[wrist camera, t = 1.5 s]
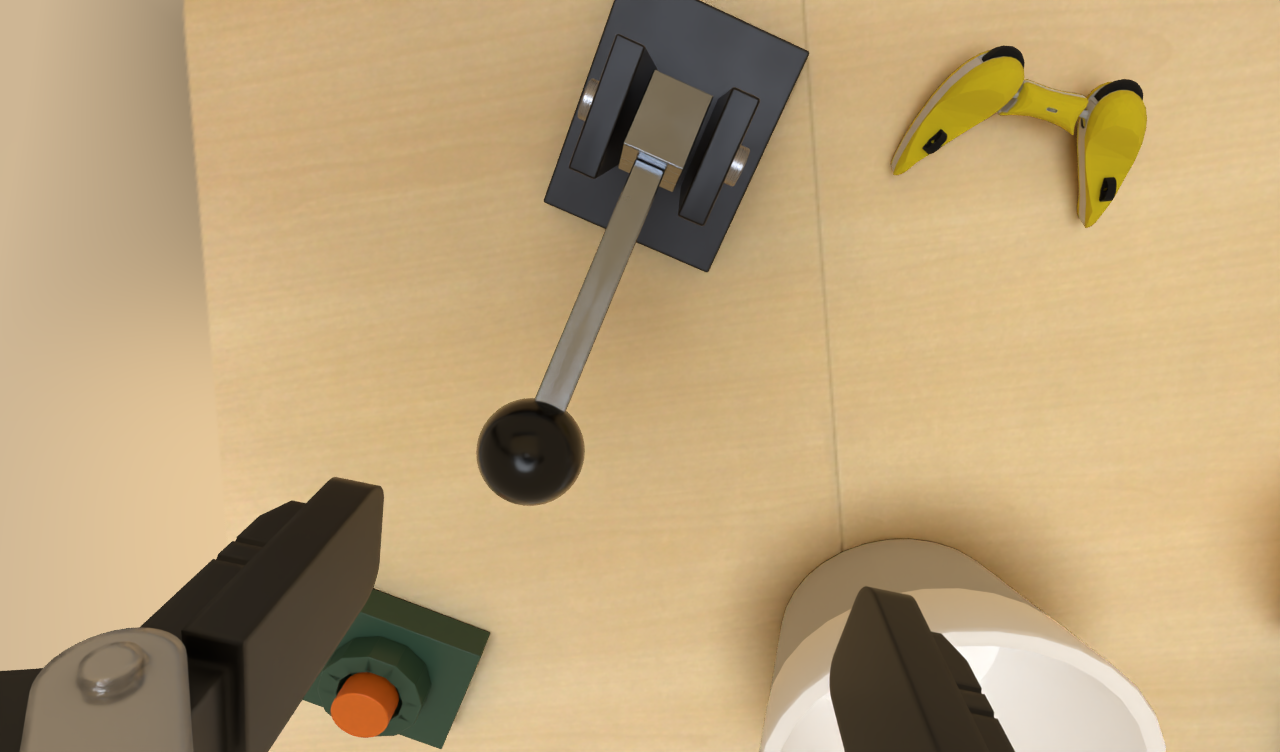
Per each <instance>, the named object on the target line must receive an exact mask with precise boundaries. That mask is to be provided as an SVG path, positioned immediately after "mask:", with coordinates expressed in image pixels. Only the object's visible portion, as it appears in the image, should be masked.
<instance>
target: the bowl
mask: <svg viewBox="0 0 1280 752" xmlns="http://www.w3.org/2000/svg"><path fill="white" fill-rule="evenodd" d="M865 586H868V587H873V588H878V589H883V590H888V591H892V592H897V593H902V594H907V595H911V596H912V597H913V598H914V599H915V600H916V602H917V604H918V606H919V608H920V610H921V612H922V614H923V616H924V618H925V620H926V622H927V624H928V626H929V628H930V631H931V632H936V633H941V634H942V635H943V636H944V637H945V638H946V639H947V640H948V641H949V642H950V643H951V644H952V645H953V646H954V647H955V648H956V649H957V650H958V651H959V653H960V654H961V655H962V656H963V657H964V658H965V659H966V660H967V662H968V663H969V665H970V667H971V669H972V671H973V673H974V675H975V677H976V679H977V680H978V682H979V684H980V686H981V688H982V690H981V693H982V694H985V696H986V698H987V699H988V701H989V703H990V705H991V707H992V709H993V711H994V718H996V719H998V720H999V722H1000V724H1001V726H1002V728H1003V730H1004V732H1005V734H1006V735H1007V737H1008V739H1009V741H1010V743H1011V745H1012V747H1013V749H1014V751H1015V752H1166V745H1165V742H1164V738H1163V735H1162V732H1161V729H1160V726H1159V723H1158V720H1157V717H1156V714H1155V712H1154V710H1153V709H1152V708H1151V706H1150V705H1149V703H1148V702H1147V700H1146V699H1145V697H1144V696H1143V694H1142V693H1141V691H1140V690H1139V688H1138V687H1137V686H1136V685H1135V684H1134V683H1133V682H1131V681H1130V680H1129V679H1128V678H1127V677H1126V676H1125V675H1123V674H1122V673H1121V672H1120V671H1119V670H1118V669H1117V668H1115V667H1114V666H1113V665H1112V664H1111V663H1110V662H1108V661H1107V660H1106V659H1104V658H1103V657H1102V656H1101V655H1099V654H1098V653H1097V652H1095V651H1094V650H1093V649H1091V648H1090V647H1089V646H1088V645H1086V644H1085V643H1084V642H1082V641H1081V640H1080V639H1078V638H1077V637H1076V636H1075V635H1073V634H1072V633H1071V632H1069V631H1068V630H1067V629H1065V628H1064V627H1063V626H1062V625H1060V624H1059V623H1058V622H1056V621H1055V620H1054V619H1052V618H1051V617H1049V616H1047V615H1046V614H1045V613H1043V612H1042V611H1041V610H1039V609H1038V608H1037V607H1036V606H1034V605H1033V604H1032V603H1030V602H1029V601H1028V600H1026V599H1025V598H1024V597H1023V596H1021V595H1020V594H1019V593H1017V592H1016V591H1015V590H1013V589H1012V588H1011V587H1010V586H1008V585H1007V584H1006V583H1004V582H1003V581H1002V580H1001V579H999V578H998V577H997V576H995V575H994V574H993V573H991V572H990V571H989V570H988V569H986V568H985V567H984V566H982V565H981V564H980V563H978V562H977V561H976V560H974V559H972V558H971V557H969V556H967V555H965V554H963V553H962V552H960V551H958V550H956V549H953V548H950V547H947V546H944V545H941V544H938V543H935V542H929V541H922V540H915V539H894V540H883V541H878V542H873V543H867V544H863V545H860V546H858V547H855V548H852V549H849V550H847V551H844V552H842V553H840V554H838V555H836V556H835V557H833V558H831V559H829V560H827V561H826V562H824V563H822V564H821V565H820V566H819V567H818V568H816V569H815V570H814V571H813V572H812V573H810V574H809V575H808V576H807V577H806V578H805V579H804V581H803V582H802V583H801V584H800V585H799V587H798V588H797V589H796V590H795V591H794V593H793V595H792V597H791V599H790V601H789V603H788V605H787V607H786V609H785V613H784V617H783V621H782V625H781V630H780V636H779V642H778V648H777V654H776V660H775V666H774V672H773V678H772V684H771V689H770V695H769V701H768V705H767V709H766V714H765V720H764V726H763V732H762V738H761V744H760V750H759V752H845V751H844V747H843V743H842V739H841V735H840V731H839V728H838V724H837V720H836V716H835V712H834V708H833V704H832V700H831V696H830V686H829V678H830V668H831V662H832V658H833V655H834V653H835V650H836V647H837V645H838V642H839V640H840V637H841V635H842V632H843V629H844V627H845V624H846V622H847V619H848V617H849V614H850V611H851V609H852V606H853V604H854V601H855V599H856V596H857V594H858V592H859V591H860V590H861V588H863V587H865Z"/></svg>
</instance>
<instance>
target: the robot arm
mask: <svg viewBox="0 0 1280 752" xmlns="http://www.w3.org/2000/svg"><path fill="white" fill-rule="evenodd" d="M383 502H384V494H383V489H382V487H381V486H377V485H372V484H367V483H362V482H357V481H353V480H348V479H343V478H338V477H334V478H332V479H330V480H329V481H328V482H327V483H326V484H325V485H324V486H323V487H322V488H321V489H320V490H319V491H318V492H317V493H316V494H315V495H314V496H313V497H312V498H311V499H310V500H309V501H308V502H307V503H301V502H296V501H290V502H288V503H285V504H283V505H281V506H279V507H277V508H275V509H273V510H271V511H269V512H267V513H264V514H262V515H260V516H259V517H258V518H257V519H256V520H255V521H253V522H252V523H251V524H250V525H249V526H248V527H247V528H246V529H245V530H244V531H243V532H242V533H241V534H240V535H238V536H237V539H236V541H235V542H234V541H232V542H231V543H230V544H229V545H228V546H227V547H226V548H224V549H223V551H221V552H220V553H219V554H218V557H217V559H216V560H215V559H213V560H212V561H211V562H209V563H208V564H207V565H206V566H205V567H204V568H203V569H202V570H201V571H200V572H199V573H198V574H197V575H196V576H194V577H193V578H192V579H191V580H190V581H189V582H188V583H187V584H186V585H185V586H184V587H183V588H181V590H179V591H178V592H177V593H176V594H175V595H174V596H173V597H172V598H171V599H170V600H169V601H168V602H166V603H165V604H164V605H163V606H162V607H161V608H160V609H159V610H158V611H157V612H156V613H155V614H154V615H153V616H152V617H150V618H149V619H148V620H147V621H146V622H145V623H144V624H143V625H142V626H141V627H140V628H126V629H121V630H114V631H110V632H107V633H103V634H100V635H97V636H94V637H91V638H88V639H86V640H84V641H82V642H80V643H77V644H75V645H74V646H72V647H70V648H68V649H67V650H65V651H63V652H62V653H61V654H59V655H58V656H56V657H55V658H54V659H53V660H51V661H50V662H49V663H48V664H47V665H46V666H45V667H44V668H39V669H27V670H11V671H0V752H268V751H269V749H270V748H271V746H272V745H273V743H274V742H275V740H276V739H277V737H278V736H279V734H280V733H281V731H282V730H283V728H284V727H285V725H286V724H287V722H288V721H289V719H290V718H291V716H292V715H293V713H294V711H295V710H296V708H297V707H298V705H299V704H300V702H301V701H302V699H303V698H304V696H305V695H306V693H307V692H308V690H309V689H310V687H311V686H312V684H313V683H314V681H315V680H316V678H317V677H318V675H319V674H320V672H321V671H322V669H323V667H324V666H325V664H326V663H327V661H328V660H329V658H330V657H331V655H332V654H333V652H334V651H335V649H336V648H337V646H338V645H339V643H340V642H341V640H342V639H343V637H344V636H345V634H346V633H347V631H348V630H349V628H350V626H351V625H352V623H353V622H354V620H355V619H356V617H357V616H358V614H359V613H360V611H361V610H362V608H363V607H364V605H365V604H366V602H367V600H368V598H369V596H370V594H371V592H372V590H373V587H374V584H375V581H376V578H377V574H378V569H379V562H380V547H381V532H382V517H383ZM829 686H830V696H831V700H832V704H833V708H834V712H835V716H836V720H837V724H838V728H839V731H840V735H841V739H842V743H843V747H844V751H845V752H1015V751H1014V749H1013V747H1012V745H1011V743H1010V741H1009V739H1008V737H1007V735H1006V734H1005V732H1004V730H1003V728H1002V726H1001V724H1000V722H999V720H998V719H996V718H994V711H993V709H992V707H991V705H990V703H989V701H988V699H987V698H986V696H985V694H982V693H981V690H982V688H981V686H980V684H979V682H978V680H977V679H976V677H975V675H974V673H973V671H972V669H971V667H970V665H969V663H968V662H967V660H966V659H965V658H964V657H963V656H962V655H961V654H960V653H959V651H958V650H957V649H956V648H955V647H954V646H953V645H952V644H951V643H950V642H949V641H948V640H947V639H946V638H945V637H944V636H943V635H942V634H941V633H936V632H931V631H930V628H929V626H928V624H927V622H926V620H925V618H924V616H923V614H922V612H921V610H920V608H919V606H918V604H917V602H916V600H915V599H914V598H913V597H912V596H911V595H907V594H902V593H897V592H892V591H888V590H883V589H878V588H873V587H868V586H865V587H863V588H861V590H860V591H859V592H858V594H857V596H856V599H855V601H854V604H853V606H852V609H851V611H850V614H849V617H848V619H847V622H846V624H845V627H844V629H843V632H842V635H841V637H840V640H839V642H838V645H837V647H836V650H835V653H834V655H833V658H832V662H831V668H830V678H829Z"/></svg>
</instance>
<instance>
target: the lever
mask: <svg viewBox="0 0 1280 752" xmlns="http://www.w3.org/2000/svg"><path fill="white" fill-rule="evenodd" d="M712 100H713V96H712V95H710V94H708V93H706V92H704V91H701V90H699V89H697V88H695V87H693V86H690V85H688V84H686V83H684V82H682V81H680V80H677V79H675V78H673V77H671V76H669V75H666V74H664V73H662V72H660V71H658V70H654V71H653V73H652V75H651V77H650V80H649V82H648V85H647V87H646V89H645V92H644V94H643V96H642V99H641V101H640V104H639V106H638V108H637V111H636V113H635V115H634V118H633V120H632V122H631V125H630V127H629V130H628V132H627V134H626V137H625V139H624V141H623V145H622V150H621V155H620V160H619V165H618V168H619V169H621V170H623V171H626V172H628V173H629V176H628V178H627V180H626V183H625V185H624V187H623V190H622V192H621V195H620V197H619V199H618V202H617V204H616V207H615V209H614V211H613V214H612V216H611V218H610V221H609V223H608V226H607V228H606V230H605V233H604V235H603V238H602V240H601V242H600V245H599V247H598V249H597V252H596V254H595V257H594V259H593V261H592V264H591V266H590V269H589V271H588V273H587V276H586V278H585V280H584V283H583V285H582V288H581V290H580V292H579V295H578V297H577V300H576V302H575V304H574V307H573V309H572V311H571V314H570V316H569V319H568V321H567V323H566V326H565V328H564V331H563V333H562V335H561V338H560V340H559V342H558V345H557V347H556V350H555V352H554V354H553V357H552V359H551V362H550V364H549V366H548V369H547V371H546V373H545V376H544V378H543V381H542V383H541V385H540V388H539V390H538V392H537V395H536V397H535V398H528V399H521V400H516V401H513V402H511V403H508V404H506V405H504V406H503V407H501V408H500V409H498V410H497V411H496V412H495V413H494V414H493V415H492V416H491V417H490V418H489V419H488V420H487V422H486V423H485V425H484V426H483V428H482V430H481V433H480V435H479V438H478V443H477V451H476V454H477V463H478V468H479V471H480V473H481V475H482V477H483V479H484V481H485V482H486V484H487V485H488V487H489V488H490V489H491V490H492V491H493V492H494V493H496V494H497V495H498V496H500V497H501V498H503V499H504V500H507V501H509V502H511V503H514V504H518V505H524V506H534V505H541V504H545V503H548V502H551V501H553V500H555V499H557V498H558V497H560V496H561V495H563V494H564V493H565V492H566V491H567V490H569V488H570V487H571V486H572V485H573V484H574V482H575V481H576V479H577V478H578V476H579V474H580V472H581V469H582V466H583V461H584V453H585V449H584V441H583V436H582V433H581V430H580V428H579V426H578V424H577V423H576V422H575V420H574V419H573V417H572V416H571V415H570V414H569V413H568V412H567V411H566V409H567V407H568V404H569V402H570V400H571V397H572V395H573V392H574V390H575V388H576V385H577V383H578V380H579V378H580V376H581V373H582V371H583V368H584V366H585V363H586V361H587V359H588V356H589V354H590V351H591V349H592V347H593V344H594V342H595V339H596V337H597V335H598V332H599V330H600V327H601V325H602V323H603V320H604V318H605V315H606V313H607V310H608V308H609V306H610V303H611V301H612V298H613V296H614V294H615V291H616V289H617V286H618V284H619V282H620V279H621V277H622V274H623V272H624V269H625V267H626V265H627V262H628V260H629V257H630V255H631V253H632V250H633V248H634V245H635V243H636V241H637V238H638V236H639V233H640V231H641V229H642V226H643V224H644V221H645V219H646V216H647V214H648V212H649V209H650V207H651V204H652V202H653V200H654V197H655V195H656V192H657V190H658V188H659V186H660V187H662V188H664V189H667V190H669V191H671V192H673V191H674V189H675V187H676V184H677V182H678V180H679V178H680V176H681V174H682V172H683V170H684V168H685V165H686V163H687V160H688V158H689V155H690V153H691V151H692V148H693V146H694V143H695V141H696V139H697V136H698V134H699V131H700V129H701V126H702V124H703V122H704V119H705V117H706V114H707V112H708V109H709V107H710V105H711V102H712Z"/></svg>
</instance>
